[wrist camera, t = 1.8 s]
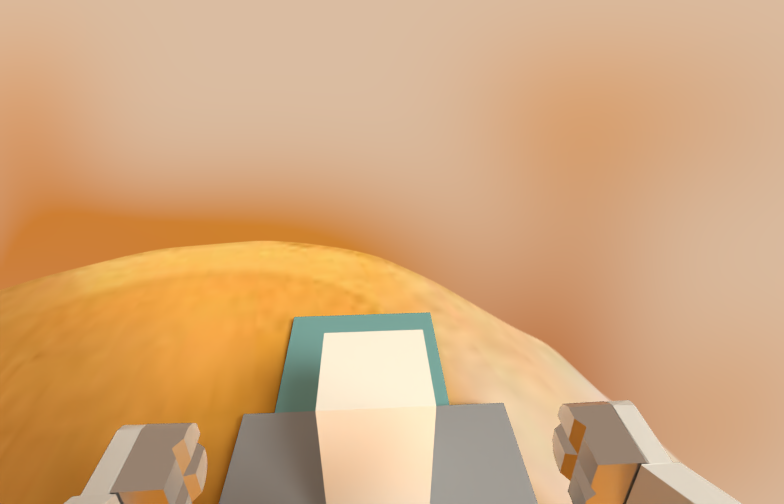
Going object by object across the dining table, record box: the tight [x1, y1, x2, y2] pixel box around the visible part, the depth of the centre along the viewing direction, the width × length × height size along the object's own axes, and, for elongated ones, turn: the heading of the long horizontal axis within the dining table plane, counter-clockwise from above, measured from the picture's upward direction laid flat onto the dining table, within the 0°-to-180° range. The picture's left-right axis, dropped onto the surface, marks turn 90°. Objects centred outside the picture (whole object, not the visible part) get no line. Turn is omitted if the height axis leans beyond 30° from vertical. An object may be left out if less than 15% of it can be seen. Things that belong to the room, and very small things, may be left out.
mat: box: [275, 313, 449, 413], centre depth 43 cm, size 14×13×1 cm
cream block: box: [316, 330, 436, 504], centre depth 28 cm, size 6×6×10 cm
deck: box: [219, 403, 538, 504], centre depth 31 cm, size 20×12×2 cm, turn 93°
